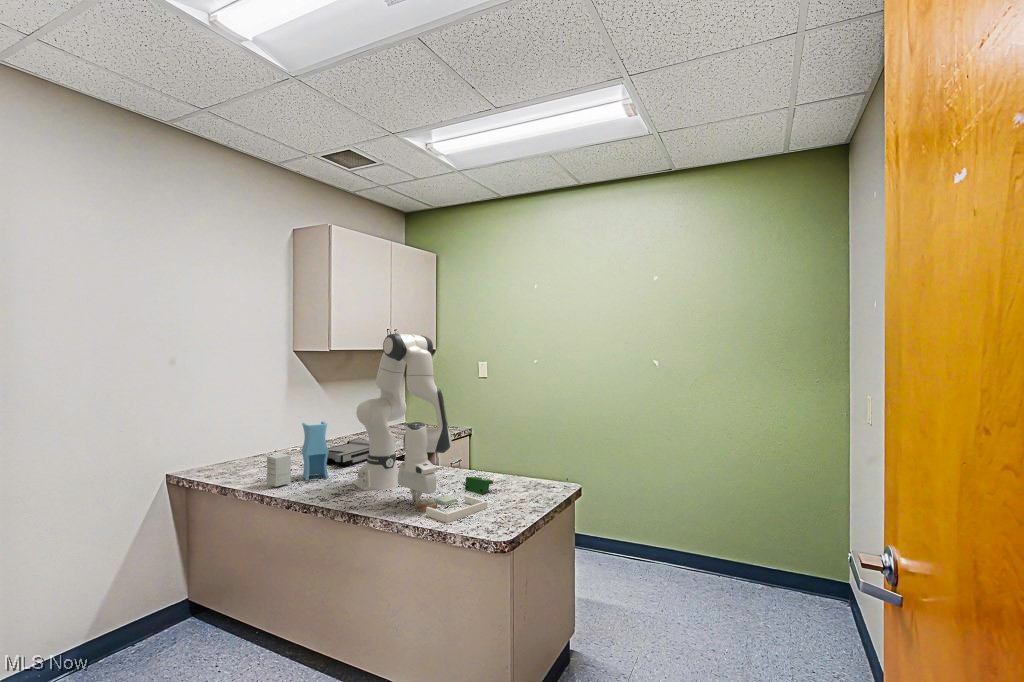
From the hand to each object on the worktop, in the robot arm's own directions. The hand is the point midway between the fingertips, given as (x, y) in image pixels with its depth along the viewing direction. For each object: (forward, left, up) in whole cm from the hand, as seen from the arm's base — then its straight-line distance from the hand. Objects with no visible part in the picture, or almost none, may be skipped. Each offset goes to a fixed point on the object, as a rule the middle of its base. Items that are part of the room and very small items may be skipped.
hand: (416, 500), depth 198 cm
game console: (-88, +23, -2) cm, 91 cm away
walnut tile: (+6, 0, -2) cm, 6 cm away
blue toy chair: (-70, -6, -2) cm, 70 cm away
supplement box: (-70, -23, -2) cm, 74 cm away
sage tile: (+6, +10, -2) cm, 12 cm away
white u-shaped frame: (+18, +5, -2) cm, 19 cm away
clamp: (+3, +28, -3) cm, 28 cm away
